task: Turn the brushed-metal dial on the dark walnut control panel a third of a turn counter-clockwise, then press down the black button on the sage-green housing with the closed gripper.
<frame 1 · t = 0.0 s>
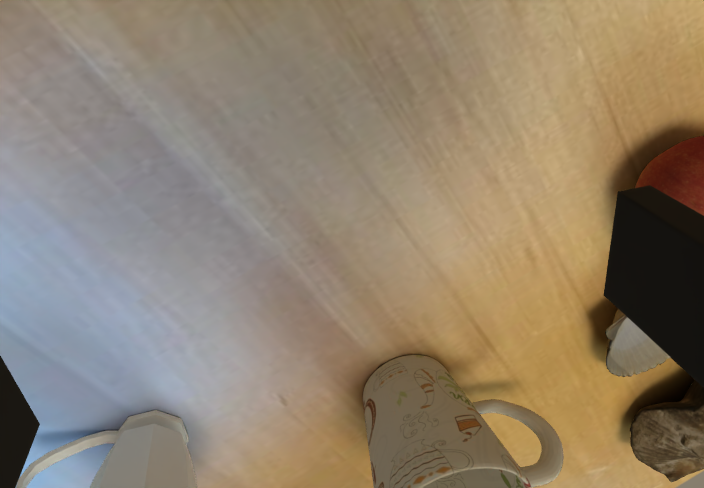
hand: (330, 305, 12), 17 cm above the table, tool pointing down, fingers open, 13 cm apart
mug: (434, 382, 38), on the table
cup: (127, 432, 34), on the table
apple: (661, 182, 33), on the table
fossilized seashell: (677, 399, 44), on the table
seashell: (637, 313, 38), on the table
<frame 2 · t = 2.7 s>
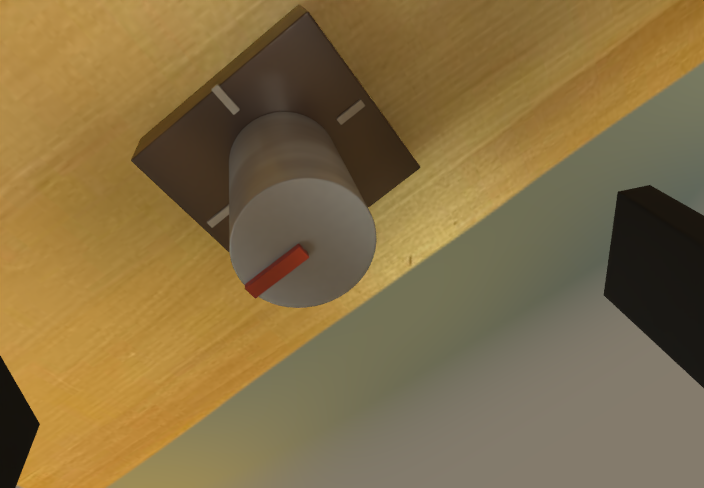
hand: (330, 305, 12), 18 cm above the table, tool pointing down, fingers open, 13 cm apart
dial: (293, 201, 22), point 7 cm above the table, hinge at 0.0°
control panel: (278, 144, 28), on the table
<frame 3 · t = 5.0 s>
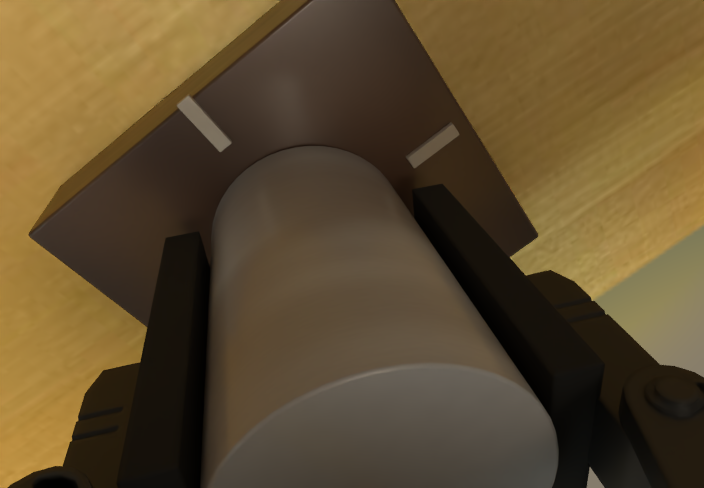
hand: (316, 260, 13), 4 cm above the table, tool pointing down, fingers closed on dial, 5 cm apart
dial: (338, 334, 11), point 7 cm above the table, hinge at 0.0°, touching gripper
control panel: (297, 191, 17), on the table
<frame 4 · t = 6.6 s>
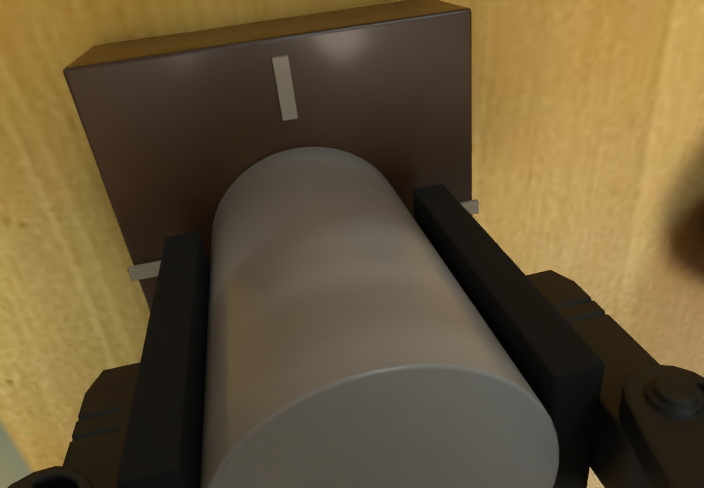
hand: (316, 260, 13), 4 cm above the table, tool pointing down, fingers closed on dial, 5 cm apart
dial: (338, 335, 11), point 7 cm above the table, hinge at 119.1°, touching gripper
control panel: (297, 192, 17), on the table
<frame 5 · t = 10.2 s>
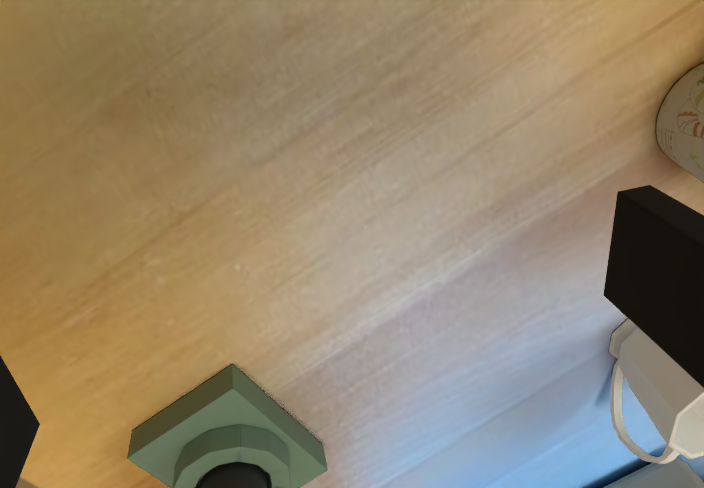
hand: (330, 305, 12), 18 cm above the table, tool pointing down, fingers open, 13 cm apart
button box: (232, 438, 37), on the table
cup: (624, 351, 41), on the table
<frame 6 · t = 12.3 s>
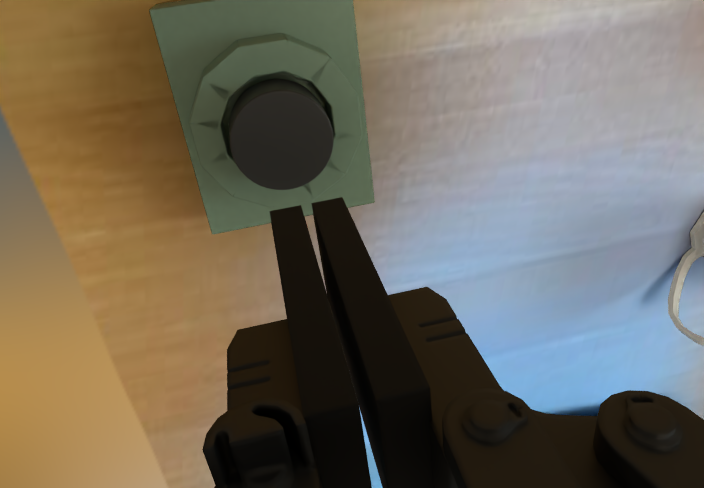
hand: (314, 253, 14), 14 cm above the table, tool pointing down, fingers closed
button box: (272, 105, 26), on the table
cup: (698, 242, 36), on the table
button: (280, 134, 22), point 5 cm above the table, slide at 0.1 cm
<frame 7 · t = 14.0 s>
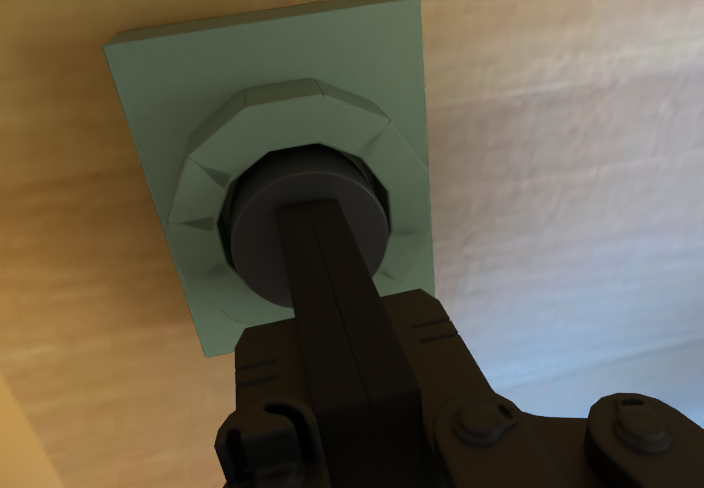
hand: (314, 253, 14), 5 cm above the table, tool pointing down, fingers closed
button box: (291, 173, 18), on the table
button: (307, 226, 15), point 4 cm above the table, slide at -0.6 cm, touching gripper
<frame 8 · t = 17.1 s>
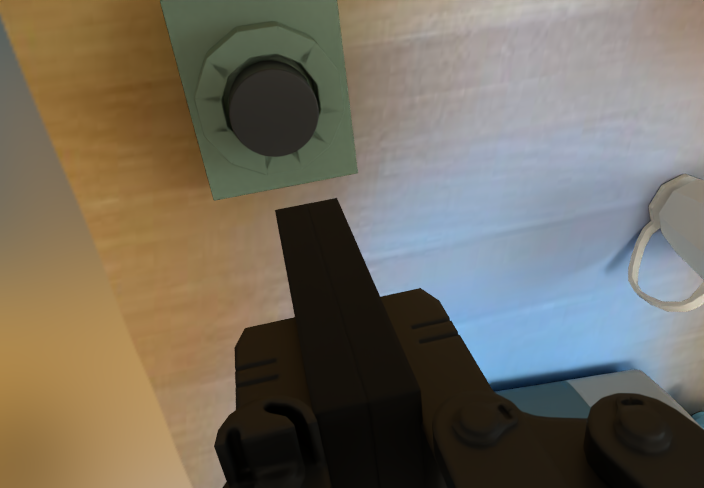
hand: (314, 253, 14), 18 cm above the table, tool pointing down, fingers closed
button box: (266, 86, 29), on the table
cup: (657, 216, 39), on the table
white and blue toaster: (511, 408, 46), on the table
button: (273, 108, 25), point 5 cm above the table, slide at 0.1 cm
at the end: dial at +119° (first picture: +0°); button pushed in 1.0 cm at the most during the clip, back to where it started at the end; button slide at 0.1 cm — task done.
